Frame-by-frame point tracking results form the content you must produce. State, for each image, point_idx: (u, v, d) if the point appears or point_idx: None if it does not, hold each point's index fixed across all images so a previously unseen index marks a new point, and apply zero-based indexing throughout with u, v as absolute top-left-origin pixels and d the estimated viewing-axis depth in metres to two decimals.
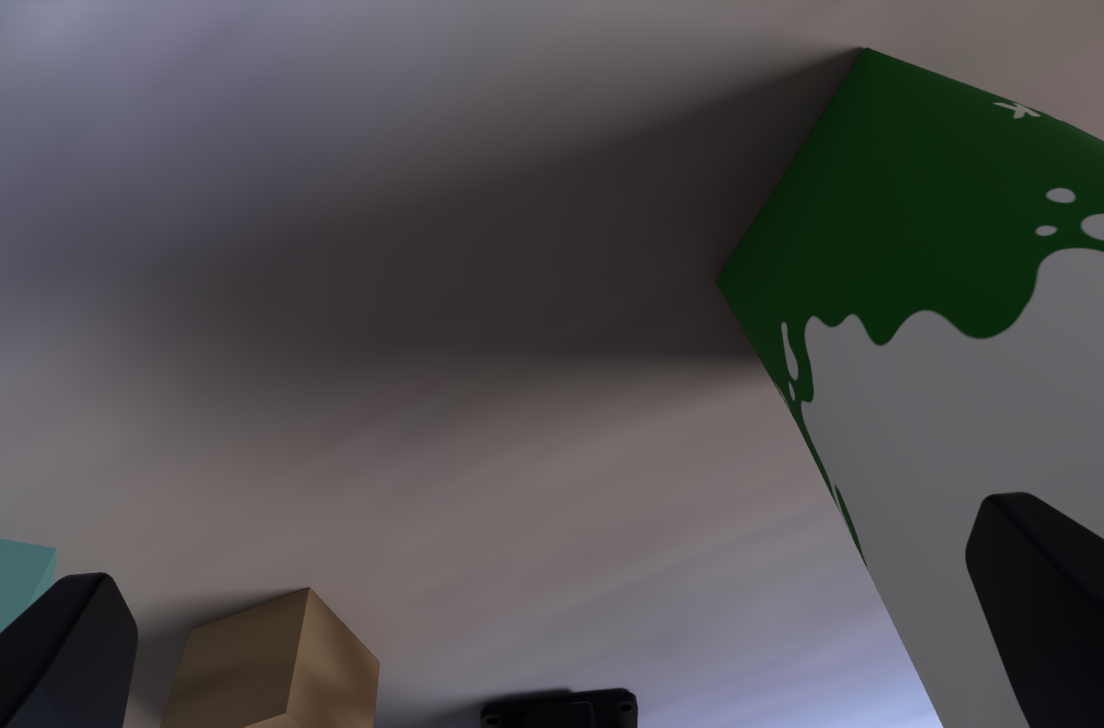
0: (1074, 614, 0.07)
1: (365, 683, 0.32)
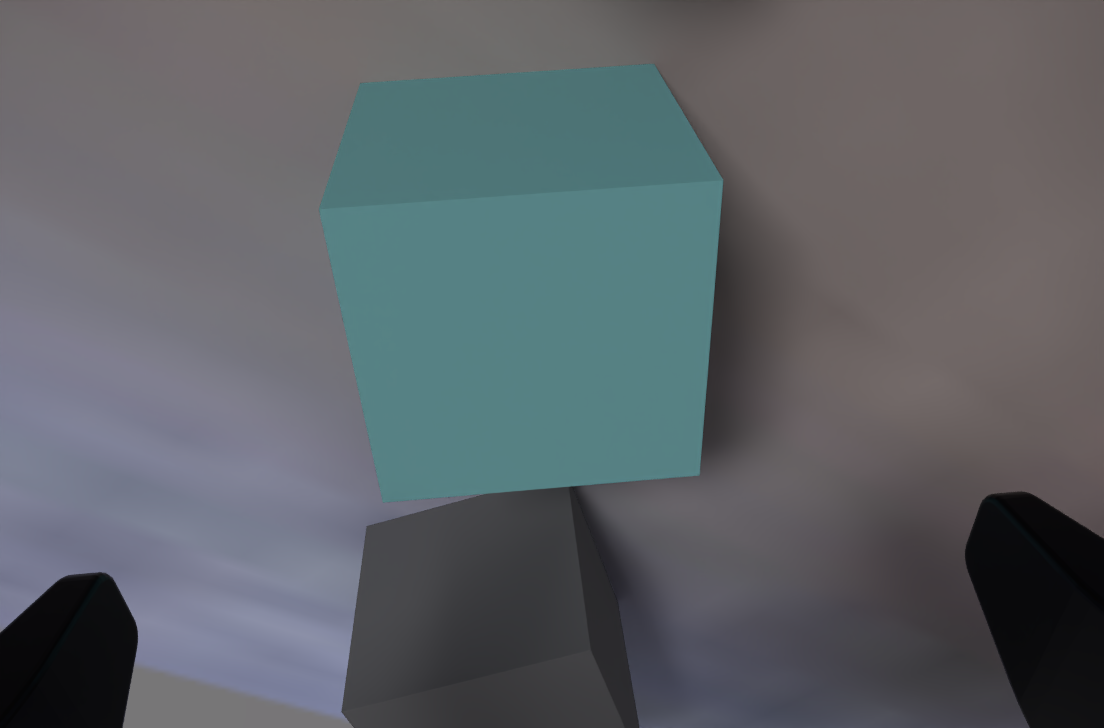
0: (1074, 614, 0.07)
1: None
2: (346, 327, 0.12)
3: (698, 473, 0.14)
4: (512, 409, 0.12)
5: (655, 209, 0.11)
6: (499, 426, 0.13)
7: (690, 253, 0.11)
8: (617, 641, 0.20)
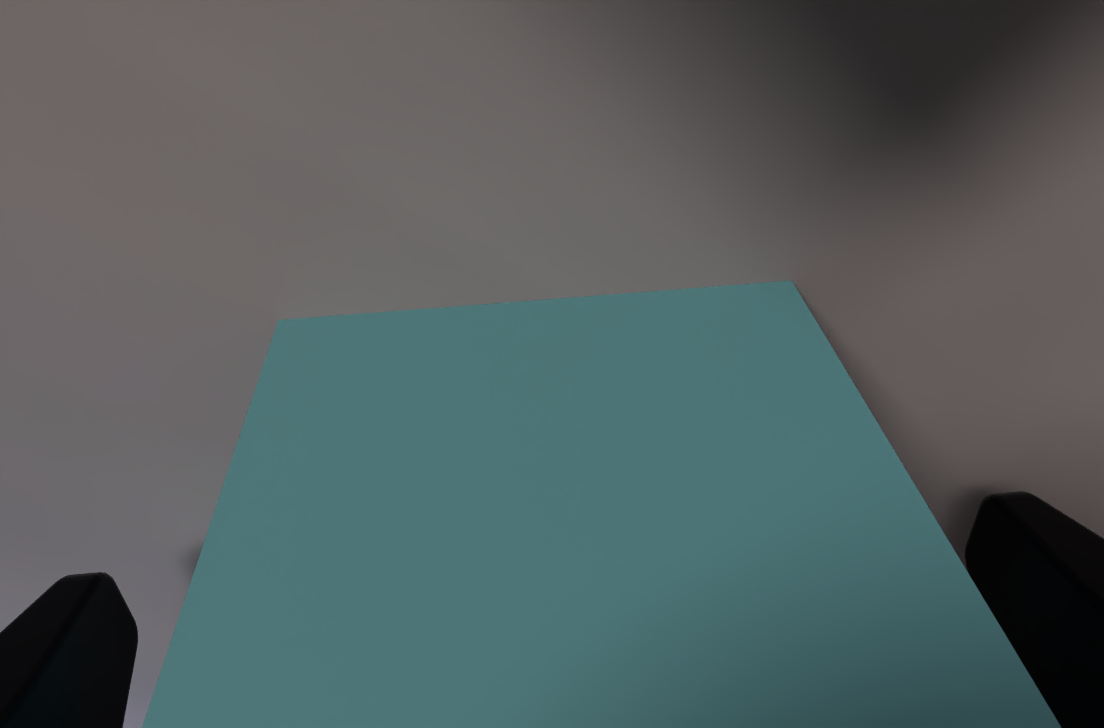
0: (1074, 614, 0.07)
1: None
2: None
3: None
4: None
5: None
6: None
7: None
8: None
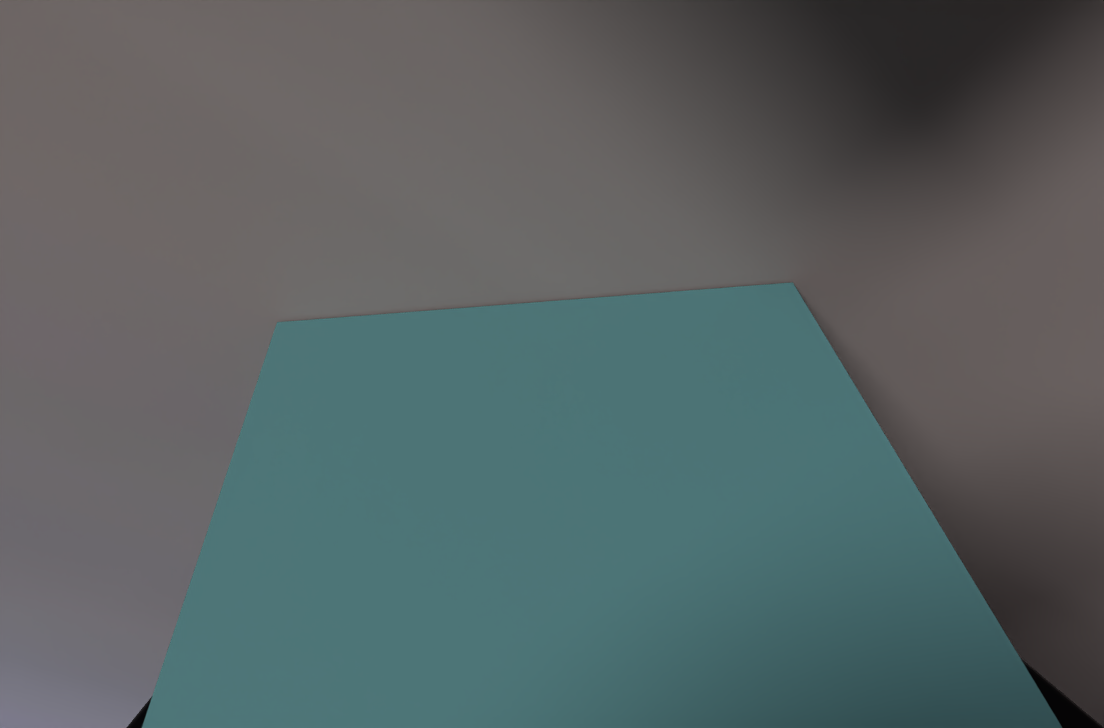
0: None
1: None
2: None
3: None
4: None
5: None
6: None
7: None
8: None
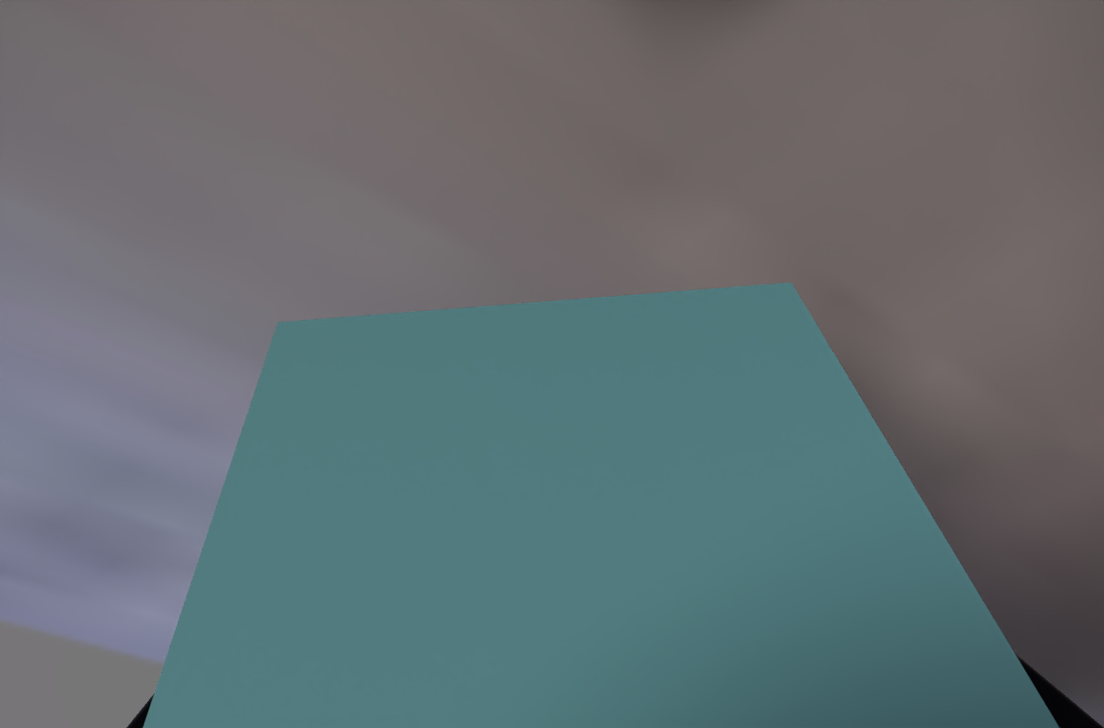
0: None
1: None
2: None
3: None
4: None
5: None
6: None
7: None
8: None
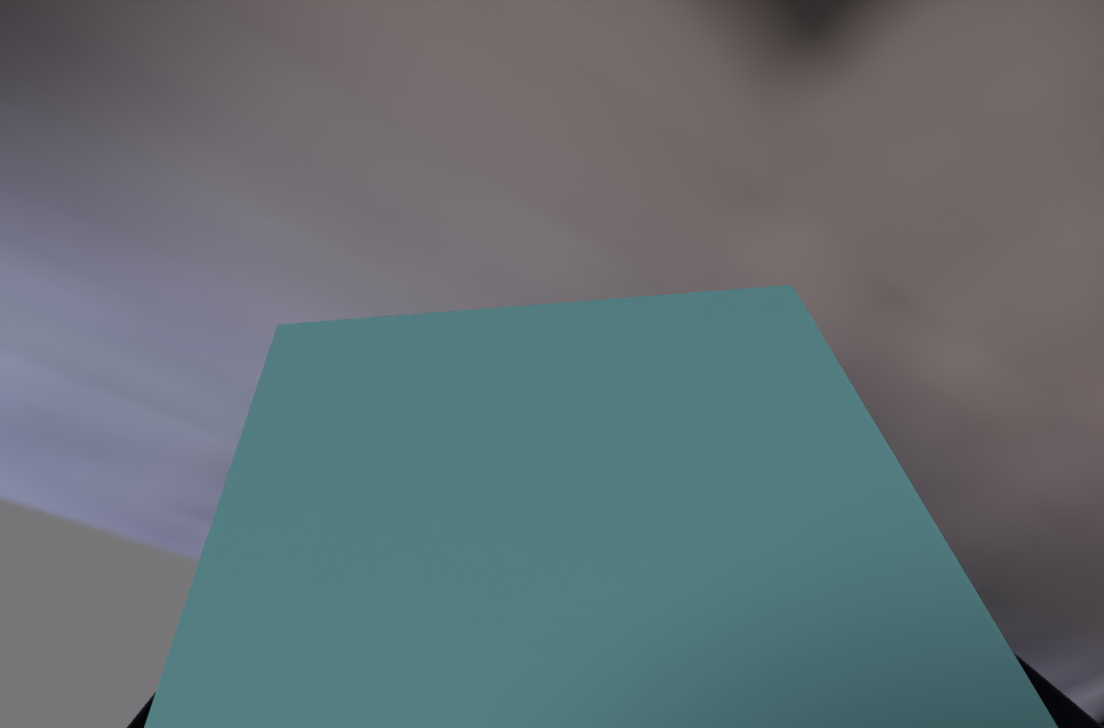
0: None
1: None
2: None
3: None
4: None
5: None
6: None
7: None
8: None
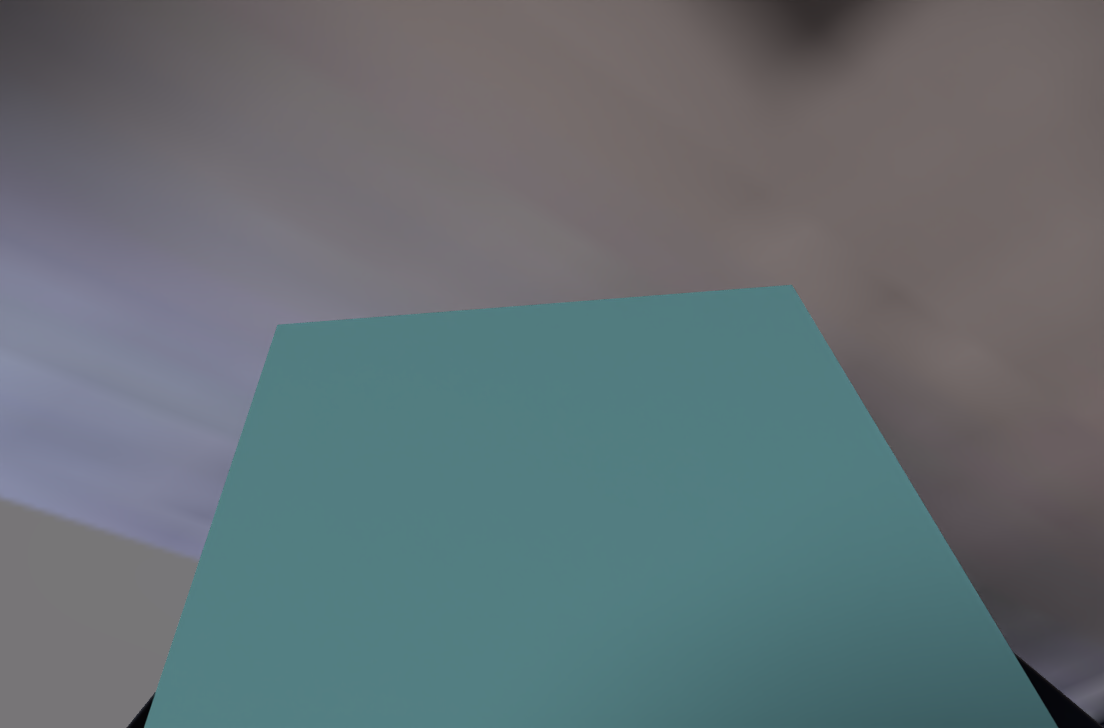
0: None
1: None
2: None
3: None
4: None
5: None
6: None
7: None
8: None
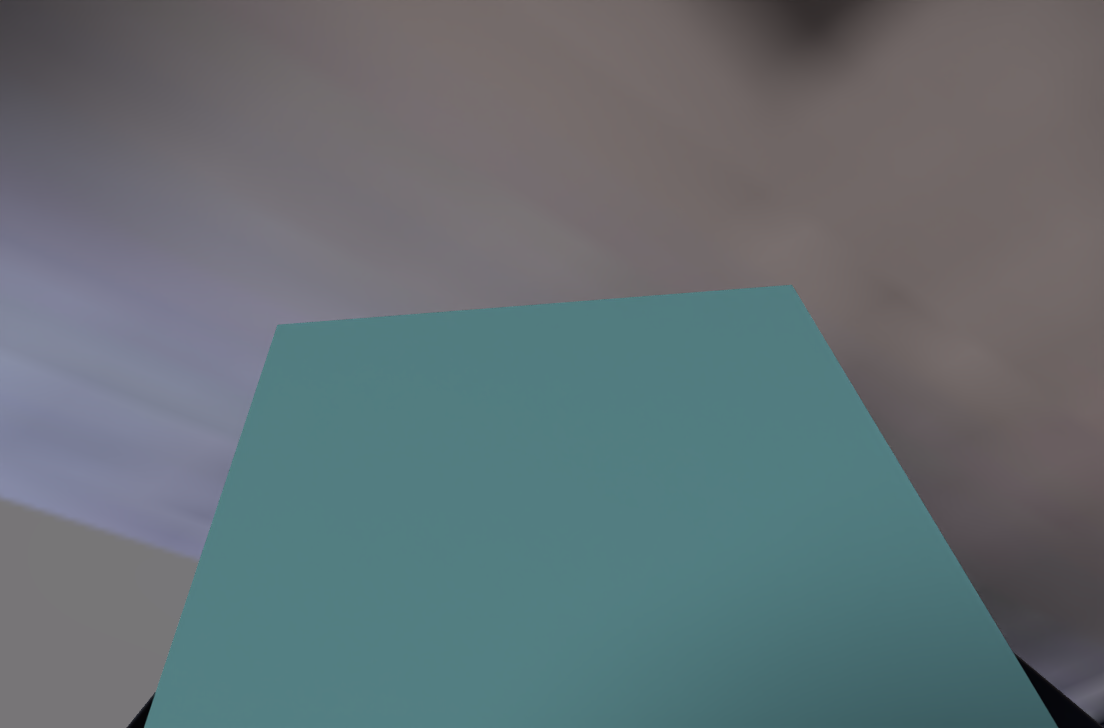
0: None
1: None
2: None
3: None
4: None
5: None
6: None
7: None
8: None
